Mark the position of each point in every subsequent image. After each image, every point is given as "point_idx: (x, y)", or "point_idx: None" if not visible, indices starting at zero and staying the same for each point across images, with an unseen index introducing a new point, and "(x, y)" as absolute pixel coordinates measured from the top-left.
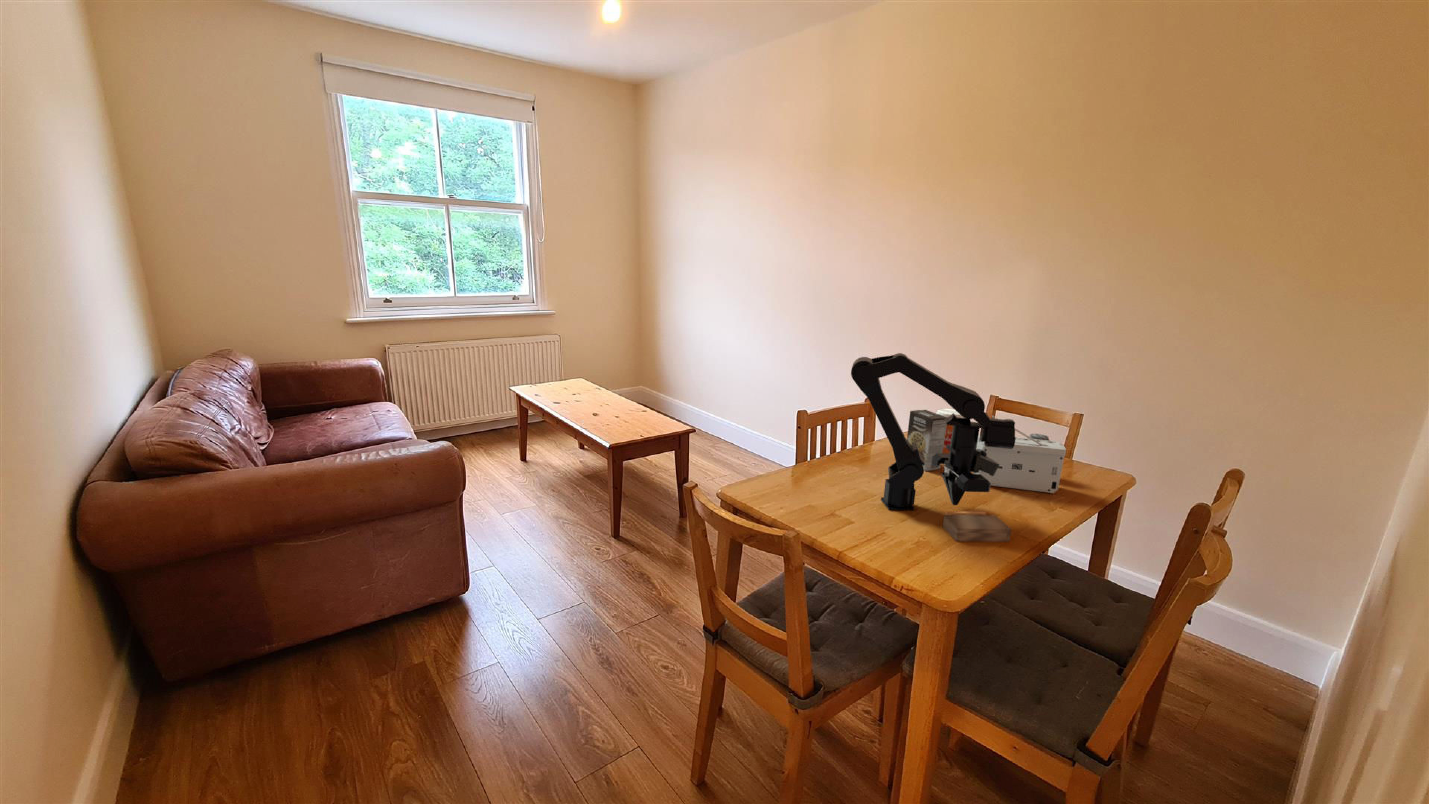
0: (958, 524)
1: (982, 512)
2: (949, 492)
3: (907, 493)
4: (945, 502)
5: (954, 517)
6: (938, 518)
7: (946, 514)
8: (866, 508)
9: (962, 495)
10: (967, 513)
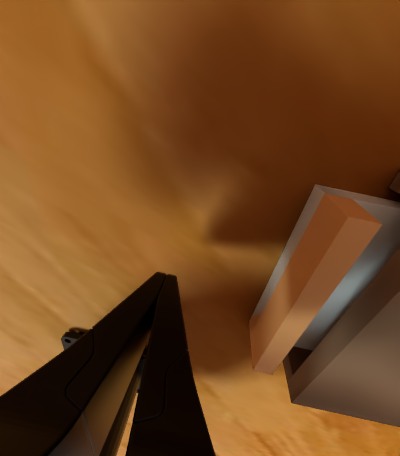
0: (393, 415)
1: (353, 239)
2: (132, 376)
3: (118, 431)
4: (58, 212)
5: (332, 394)
6: (216, 323)
7: (253, 355)
8: (134, 406)
9: (186, 342)
10: (311, 318)
